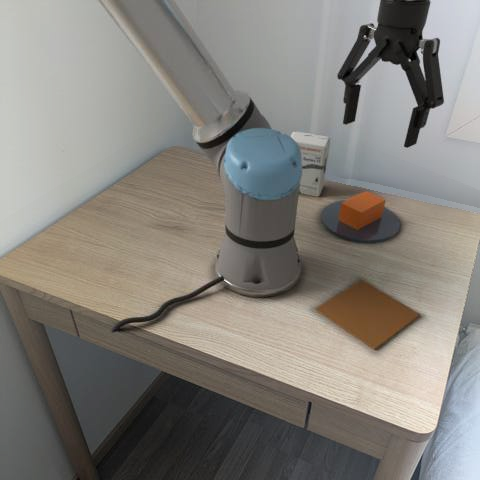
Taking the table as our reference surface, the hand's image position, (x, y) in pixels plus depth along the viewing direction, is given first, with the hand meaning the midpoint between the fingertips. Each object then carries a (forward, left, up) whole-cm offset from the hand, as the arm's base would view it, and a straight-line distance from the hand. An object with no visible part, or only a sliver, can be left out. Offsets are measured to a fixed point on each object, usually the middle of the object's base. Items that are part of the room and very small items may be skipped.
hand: (378, 133), depth 90 cm
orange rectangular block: (0, 0, -18) cm, 18 cm away
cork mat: (-22, -19, -18) cm, 34 cm away
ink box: (+1, +17, -18) cm, 25 cm away
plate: (0, 0, -18) cm, 18 cm away
